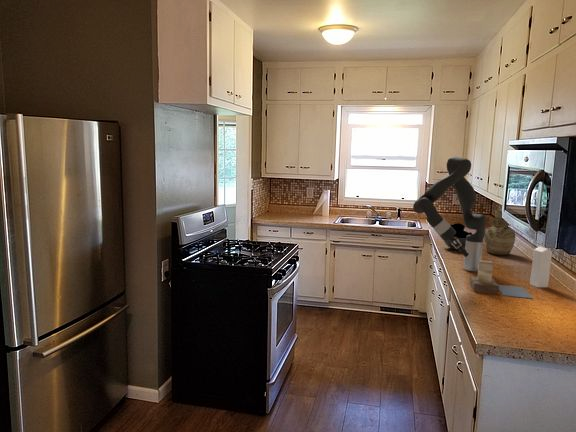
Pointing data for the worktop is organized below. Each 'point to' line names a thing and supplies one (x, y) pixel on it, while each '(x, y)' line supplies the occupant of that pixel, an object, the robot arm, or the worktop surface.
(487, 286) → the plate
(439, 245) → the worktop surface
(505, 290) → the rubber mat
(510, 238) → the ceramic vessel
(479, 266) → the birch block
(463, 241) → the coal bowl
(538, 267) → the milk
